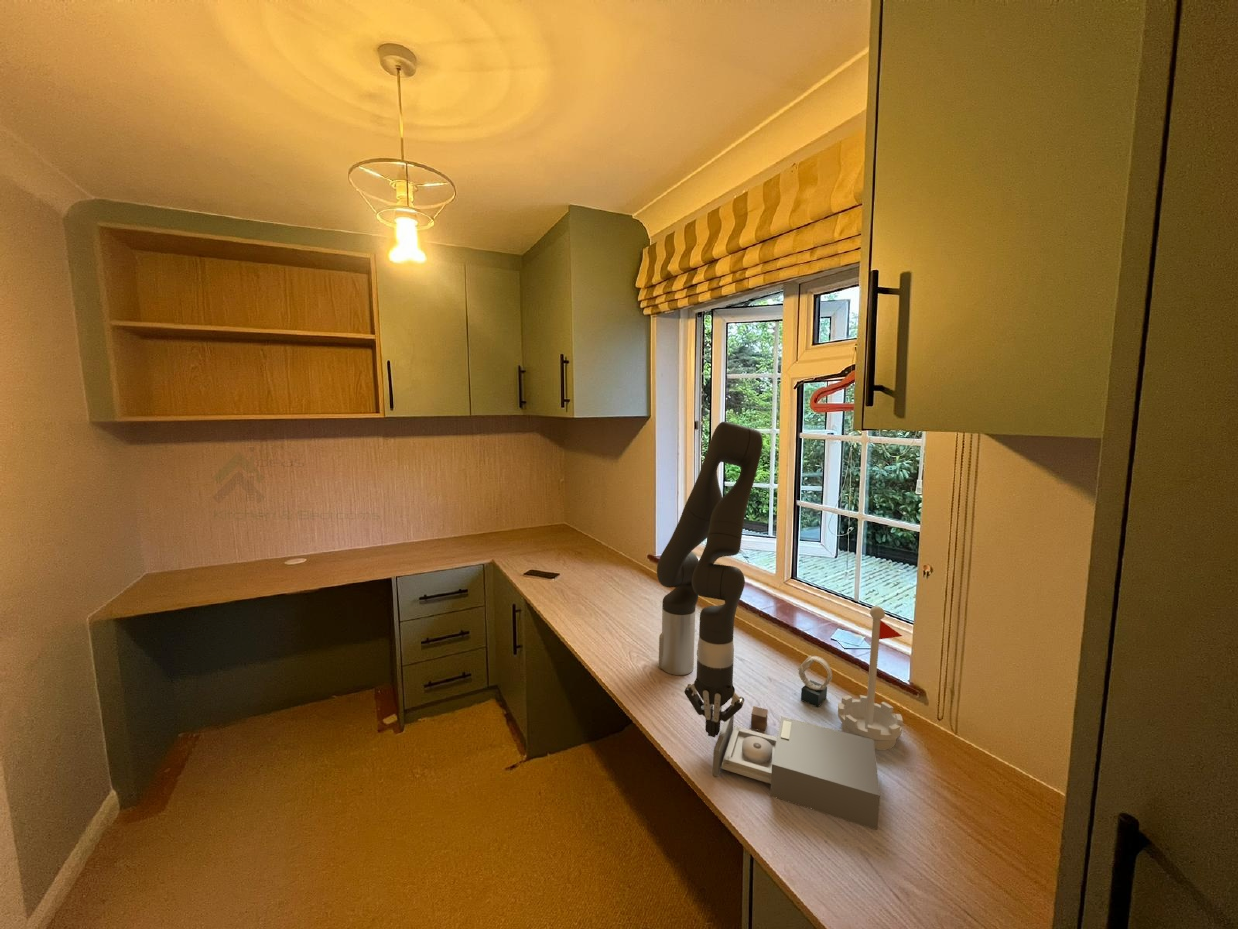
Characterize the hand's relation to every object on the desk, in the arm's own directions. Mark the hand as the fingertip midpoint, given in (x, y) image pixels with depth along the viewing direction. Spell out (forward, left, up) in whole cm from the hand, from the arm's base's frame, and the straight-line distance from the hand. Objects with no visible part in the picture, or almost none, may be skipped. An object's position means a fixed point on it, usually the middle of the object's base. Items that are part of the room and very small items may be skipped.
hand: (712, 734), depth 105 cm
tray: (+11, 0, -3) cm, 11 cm away
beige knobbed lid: (+9, 0, -2) cm, 9 cm away
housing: (+22, 0, -4) cm, 22 cm away
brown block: (+8, +13, -4) cm, 15 cm away
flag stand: (+31, +21, -4) cm, 38 cm away
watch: (+19, +30, -4) cm, 35 cm away
